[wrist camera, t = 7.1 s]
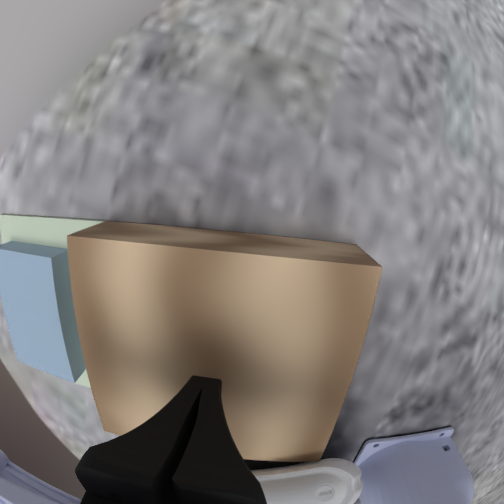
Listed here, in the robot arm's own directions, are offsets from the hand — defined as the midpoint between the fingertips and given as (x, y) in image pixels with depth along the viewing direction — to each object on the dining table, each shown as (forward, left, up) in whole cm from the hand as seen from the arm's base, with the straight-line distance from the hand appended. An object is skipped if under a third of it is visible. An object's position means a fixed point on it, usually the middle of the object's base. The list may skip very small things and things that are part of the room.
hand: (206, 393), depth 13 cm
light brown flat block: (0, 0, -5) cm, 5 cm away
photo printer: (+1, +13, -1) cm, 13 cm away
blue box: (+13, 0, -3) cm, 13 cm away
